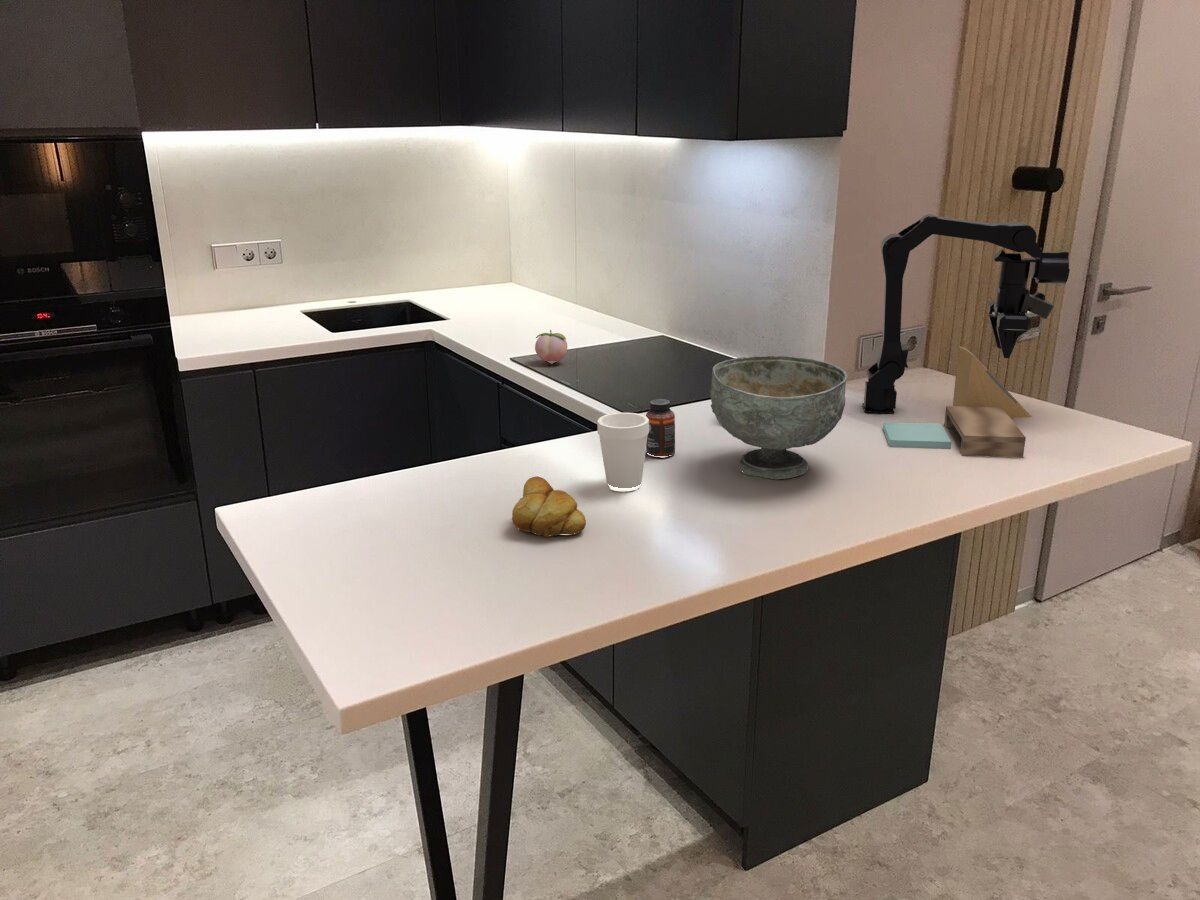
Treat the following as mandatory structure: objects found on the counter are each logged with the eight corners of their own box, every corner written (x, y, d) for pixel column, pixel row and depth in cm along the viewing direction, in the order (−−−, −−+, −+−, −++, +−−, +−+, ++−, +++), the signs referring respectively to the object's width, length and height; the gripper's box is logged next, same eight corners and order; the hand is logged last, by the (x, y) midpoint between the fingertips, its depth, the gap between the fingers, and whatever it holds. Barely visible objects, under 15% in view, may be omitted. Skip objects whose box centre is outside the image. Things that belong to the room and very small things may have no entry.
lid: (889, 449, 192) (890, 440, 192) (882, 431, 203) (883, 422, 203) (950, 451, 190) (951, 441, 190) (939, 432, 202) (940, 423, 201)
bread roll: (596, 528, 158) (595, 484, 155) (563, 549, 150) (561, 504, 148) (536, 512, 165) (534, 470, 162) (501, 532, 157) (498, 488, 155)
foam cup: (613, 499, 170) (612, 431, 165) (590, 482, 177) (588, 417, 173) (658, 488, 174) (658, 422, 169) (634, 473, 181) (633, 409, 177)
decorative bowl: (762, 434, 200) (765, 344, 192) (869, 464, 183) (876, 367, 175) (681, 472, 183) (681, 374, 175) (790, 509, 166) (795, 403, 158)
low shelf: (962, 455, 186) (964, 435, 185) (944, 424, 205) (946, 406, 203) (1023, 457, 184) (1025, 437, 183) (999, 425, 203) (1001, 407, 202)
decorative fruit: (572, 361, 266) (571, 326, 263) (564, 368, 259) (563, 333, 255) (540, 360, 268) (539, 326, 265) (532, 367, 261) (530, 332, 257)
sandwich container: (1034, 418, 208) (1043, 352, 203) (965, 419, 208) (972, 354, 203) (1018, 406, 216) (1026, 343, 211) (951, 408, 216) (958, 345, 211)
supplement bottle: (679, 451, 193) (679, 399, 189) (669, 460, 188) (669, 407, 184) (652, 448, 195) (652, 396, 191) (641, 457, 190) (641, 404, 186)
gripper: (1062, 291, 190) (1051, 365, 196) (1045, 276, 207) (1034, 345, 213) (1004, 289, 193) (994, 362, 198) (991, 275, 210) (982, 342, 215)
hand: (1003, 353), depth 206 cm, fingers open, 9 cm apart
